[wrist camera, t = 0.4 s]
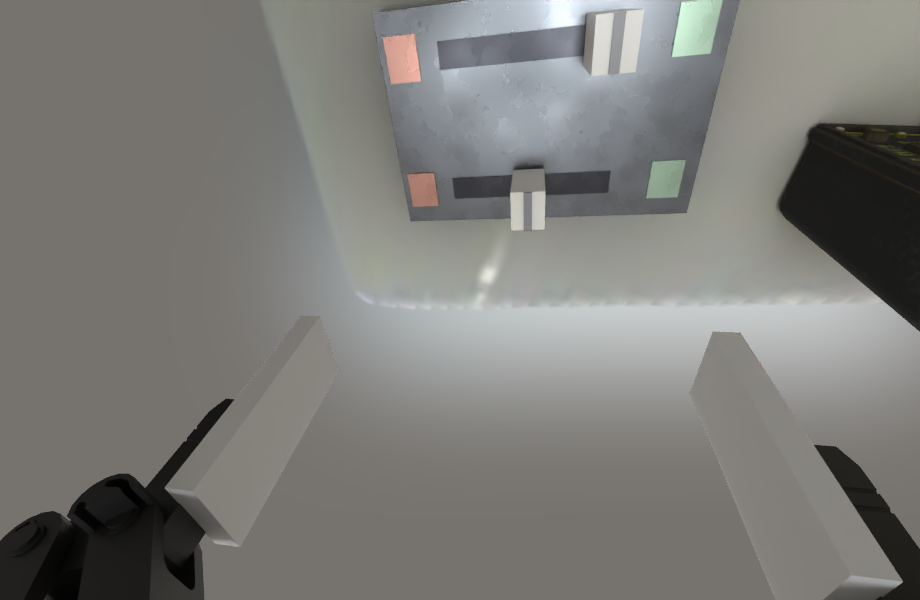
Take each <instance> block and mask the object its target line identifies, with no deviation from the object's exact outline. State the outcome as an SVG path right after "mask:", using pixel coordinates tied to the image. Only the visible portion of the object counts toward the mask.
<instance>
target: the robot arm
mask: <svg viewBox="0 0 920 600" xmlns="http://www.w3.org/2000/svg"><path fill="white" fill-rule="evenodd" d="M338 371H339V369H338V367H337V364H336V361H335V358H334V355H333V352H332V349H331V346H330V343H329V341H328V338H327V335H326V332H325V329H324V326H323V323H322V320H321V317H319V316H300V318H299V319H298V320H297V322H296V323H295V324H294V325H293V327H292V328H291V329H290V330H289V332H288V333H287V334H286V336H285V337H284V338H283V339H282V341H281V342H280V343H279V344H278V345H277V347H276V348H275V349H274V350H273V352H272V353H271V354H270V355H269V357H268V358H267V359H266V361H265V362H264V363H263V364H262V366H261V367H260V368H259V370H258V371H257V372H256V373H255V375H254V376H253V377H252V378H251V379H250V381H249V382H248V383H247V384H246V386H245V387H244V388H243V389H242V391H241V392H240V393H239V395H238V396H237V397H236V398H235V399H225V400H224V401H222V402H221V403H220V404H218V405H217V406H216V407H215V408H213V409H212V410H211V411H210V412H208V414H207V415H206V416H205V417H204V419H203V420H202V421H201V422H200V423H199V424H198V426H197V429H194V430H193V432H192V433H191V434H190V435H189V436H188V438H187V441H186V442H183V444H182V445H181V446H180V447H179V448H178V450H177V451H176V452H175V453H174V454H173V456H172V457H171V458H170V459H169V460H168V462H167V463H166V464H165V465H164V466H163V468H162V469H161V470H160V471H159V472H158V474H157V475H156V476H155V477H154V479H153V480H152V481H151V482H150V483H149V484H148V486H147V487H146V488H144V487H143V486H142V485H141V484H140V483H139V482H138V481H137V479H136V478H135V477H133V476H131V475H130V474H117V475H114V476H110V477H107V478H105V479H103V480H101V481H100V482H98V483H96V484H94V485H93V486H91V487H90V488H89V489H88V490H86V491H85V492H84V493H83V494H81V496H80V497H79V498H78V499H77V500H76V501H75V503H74V504H73V505H72V507H71V509H70V511H69V513H68V515H67V517H68V518H69V519H71V521H69V520H67V519H66V518H65V517H64V516H62V515H61V514H59V513H57V512H54V511H51V512H44V513H40V514H38V515H36V516H33V517H31V518H29V519H27V520H26V521H24V522H22V523H21V524H19V525H18V526H16V527H15V528H14V529H12V530H11V531H10V532H9V533H8V534H7V535H6V536H5V537H3V538H2V540H1V541H0V600H204V587H203V586H204V585H203V564H202V551H201V548H200V545H199V542H200V540H201V539H202V537H203V536H204V534H205V533H206V534H207V535H208V536H209V537H210V538H211V540H212V541H213V542H214V543H216V544H223V545H229V546H236V547H240V546H241V544H242V542H243V540H244V539H245V537H246V535H247V534H248V532H249V530H250V528H251V526H252V524H253V523H254V521H255V519H256V517H257V516H258V514H259V512H260V510H261V509H262V507H263V505H264V503H265V501H266V499H267V498H268V496H269V494H270V492H271V491H272V489H273V487H274V485H275V484H276V482H277V480H278V478H279V476H280V474H281V473H282V471H283V469H284V468H285V465H286V464H287V462H288V460H289V459H290V457H291V455H292V453H293V452H294V450H295V448H296V446H297V444H298V442H299V441H300V439H301V437H302V436H303V434H304V432H305V430H306V428H307V426H308V425H309V423H310V421H311V420H312V418H313V416H314V414H315V412H316V411H317V409H318V407H319V405H320V403H321V402H322V400H323V398H324V396H325V395H326V393H327V391H328V389H329V387H330V386H331V384H332V382H333V380H334V379H335V377H336V375H337V373H338ZM690 394H691V397H692V399H693V401H694V404H695V406H696V409H697V411H698V414H699V416H700V418H701V421H702V423H703V426H704V428H705V431H706V433H707V435H708V438H709V440H710V442H711V445H712V447H713V450H714V452H715V454H716V457H717V460H718V462H719V464H720V467H721V469H722V472H723V474H724V477H725V479H726V481H727V484H728V486H729V489H730V491H731V493H732V496H733V498H734V501H735V503H736V505H737V508H738V510H739V513H740V515H741V518H742V520H743V522H744V525H745V527H746V530H747V532H748V534H749V537H750V539H751V542H752V544H753V547H754V549H755V551H756V554H757V556H758V559H759V561H760V564H761V566H762V568H763V571H764V573H765V576H766V578H767V580H768V583H769V585H770V587H771V590H772V592H773V595H774V597H775V599H776V600H920V549H919V547H918V546H917V545H916V543H915V542H914V541H913V539H912V538H911V536H910V535H909V534H908V532H907V531H906V530H905V528H904V527H903V525H902V524H901V523H900V521H899V520H898V518H897V517H896V516H895V514H892V513H891V512H890V507H889V506H888V505H887V503H886V502H885V501H884V499H883V498H882V496H881V495H880V494H877V492H876V488H875V487H874V485H873V484H872V483H871V481H870V480H869V479H868V477H867V476H866V474H865V473H864V472H863V470H862V469H861V468H860V467H859V466H858V465H857V464H856V463H855V462H854V461H852V460H851V459H850V458H849V457H848V456H846V455H845V454H844V453H843V452H842V451H841V450H839V449H838V448H837V447H834V446H821V445H813V443H812V442H811V440H810V439H809V437H808V436H807V434H806V432H805V431H804V429H803V428H802V426H801V425H800V423H799V422H798V420H797V419H796V418H795V416H794V414H793V413H792V411H791V410H790V408H789V407H788V405H787V403H786V402H785V400H784V399H783V398H782V396H781V395H780V393H779V391H778V390H777V388H776V387H775V385H774V384H773V382H772V381H771V379H770V377H769V376H768V374H767V373H766V371H765V370H764V368H763V367H762V365H761V364H760V362H759V361H758V359H757V358H756V356H755V355H754V353H753V352H752V350H751V349H750V347H749V345H748V344H747V342H746V341H745V339H744V338H743V336H742V335H741V333H733V332H713V333H712V335H711V338H710V341H709V343H708V346H707V349H706V351H705V354H704V357H703V359H702V362H701V365H700V367H699V370H698V373H697V375H696V378H695V381H694V383H693V386H692V389H691V391H690Z"/></svg>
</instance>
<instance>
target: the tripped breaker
mask: <svg viewBox="0 0 920 600" xmlns="http://www.w3.org/2000/svg"><path fill="white" fill-rule="evenodd" d="M545 192H546V191H545V173H544V168H543V169H524V170H513V176H512V183H511V191H510V202H511V230H524V231H532V230H544V229H545Z"/></svg>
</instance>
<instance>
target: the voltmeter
mask: <svg viewBox="0 0 920 600" xmlns="http://www.w3.org/2000/svg"><path fill="white" fill-rule="evenodd" d="M809 140H811V141H812V143H811V145H810V147H809V149H808V151H807V153H806V155H805V157H804V159H803V161H802V163H801V165H800V167H799V169H798V171H797V173H796V175H795V177H794V179H793V181H792V183H791V185H790V187H789V189H788V191H787V193H786V195H785V197H784V199H783V201H782V203H781V205H780V210H781V213H782V215H783V216H784V217H785V218H786V219H787V220H788V221H789V222H791V223H792V224H793V225H794V226H795V227H796V228H798V229H799V230H800V231H801V232H802V233H804V234H805V235H806V236H807V237H808V238H809V239H811V240H812V241H813V242H814V243H815V244H817V245H818V246H819V247H820V248H821V249H823V250H824V251H825V252H826V253H827V254H828V255H830V256H831V257H832V258H833V259H834V260H836V261H837V262H838V263H839V264H840V265H841V266H843V267H844V268H845V269H846V270H847V271H849V272H850V273H851V274H852V275H853V276H855V277H856V278H857V279H858V280H859V281H860V282H862V283H863V284H864V285H865V286H866V287H868V288H869V289H870V290H871V291H872V292H874V293H875V294H876V295H877V296H878V297H879V298H881V299H882V300H883V301H884V302H885V303H887V304H888V305H889V306H890V307H891V308H893V309H894V310H895V311H896V312H897V313H898V314H900V315H901V316H902V317H903V318H905V319H906V320H907V321H908V322H909V323H910V324H911V325H913V326H914V327H915V328H916V329H917V330H919V331H920V126H885V125H851V124H821V125H820V128H817V127H815V128H814V129H813V130H812V132H811V134H810V136H809Z"/></svg>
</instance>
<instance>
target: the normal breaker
mask: <svg viewBox="0 0 920 600" xmlns="http://www.w3.org/2000/svg"><path fill="white" fill-rule="evenodd" d="M643 16H644V9H621V10H612V11H604V12H596V13H587V18H586V33H585V47H584V61H583V67H584V68H585V69H586V70H587V72H588V73H589V74H590V75H591V76H600V75H617V74H622V73H633V72H636V66H637V59H638V52H639V45H640V37H641V30H642V23H643Z"/></svg>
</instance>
